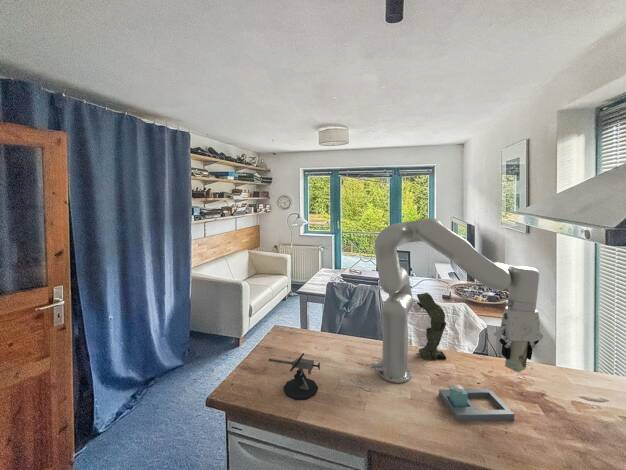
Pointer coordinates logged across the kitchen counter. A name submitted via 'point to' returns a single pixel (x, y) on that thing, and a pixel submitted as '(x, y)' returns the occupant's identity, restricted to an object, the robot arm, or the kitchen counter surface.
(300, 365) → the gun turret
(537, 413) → the kitchen counter surface
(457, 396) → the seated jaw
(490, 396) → the frame
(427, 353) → the mechanical leg
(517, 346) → the box
